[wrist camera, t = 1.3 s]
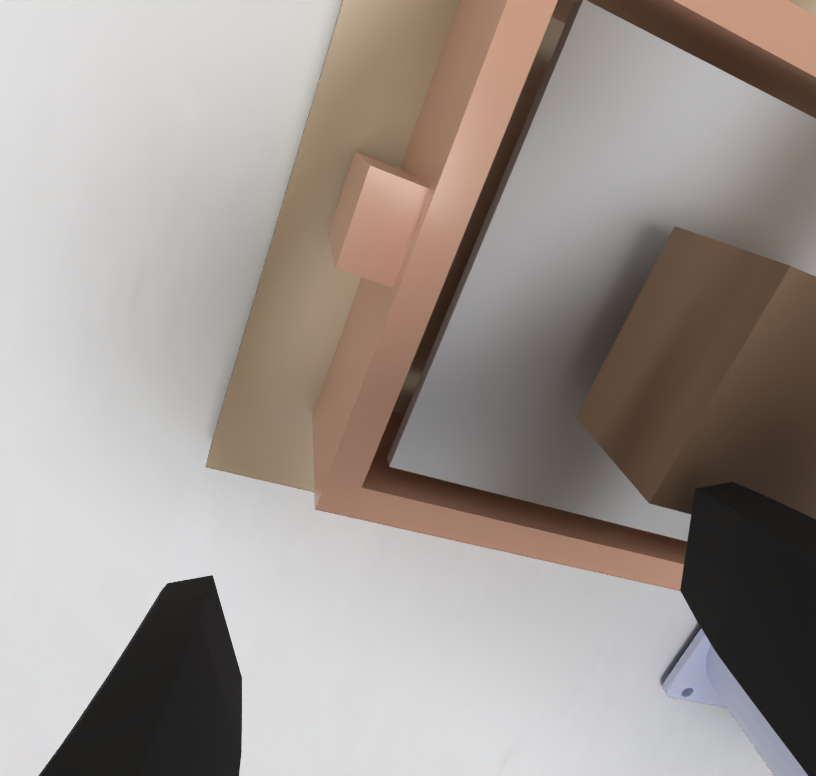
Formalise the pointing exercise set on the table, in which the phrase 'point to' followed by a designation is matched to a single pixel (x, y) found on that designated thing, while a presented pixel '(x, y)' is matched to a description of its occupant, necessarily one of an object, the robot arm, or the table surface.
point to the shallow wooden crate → (436, 248)
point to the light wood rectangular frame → (311, 219)
